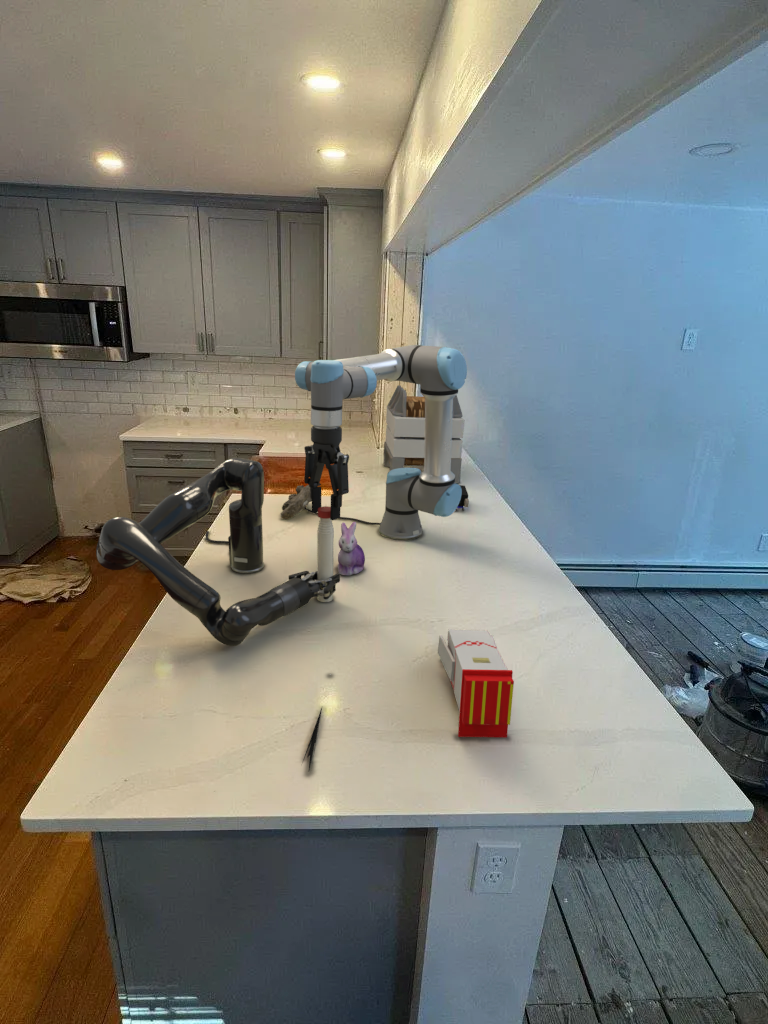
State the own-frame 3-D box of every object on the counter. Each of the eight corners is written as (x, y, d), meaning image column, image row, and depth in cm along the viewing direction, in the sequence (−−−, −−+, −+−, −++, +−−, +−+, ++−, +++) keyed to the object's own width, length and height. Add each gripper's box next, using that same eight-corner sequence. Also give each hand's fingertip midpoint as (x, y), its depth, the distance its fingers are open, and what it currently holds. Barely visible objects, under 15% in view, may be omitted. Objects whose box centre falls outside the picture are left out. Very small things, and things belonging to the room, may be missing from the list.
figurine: (343, 579, 165) (344, 531, 159) (329, 565, 173) (330, 519, 168) (372, 573, 169) (374, 526, 164) (357, 560, 177) (359, 515, 172)
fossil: (285, 490, 226) (313, 470, 221) (301, 508, 229) (329, 489, 224) (270, 515, 206) (301, 493, 201) (287, 534, 209) (318, 513, 204)
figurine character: (468, 516, 224) (463, 500, 237) (471, 498, 221) (465, 483, 234) (452, 515, 224) (447, 499, 237) (453, 498, 220) (449, 482, 234)
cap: (318, 519, 143) (318, 512, 143) (316, 513, 147) (316, 506, 146) (334, 518, 144) (334, 511, 144) (332, 512, 148) (332, 506, 147)
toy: (488, 613, 130) (523, 677, 101) (484, 667, 133) (517, 744, 104) (435, 612, 130) (455, 676, 101) (432, 666, 133) (451, 743, 103)
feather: (331, 679, 122) (336, 673, 122) (307, 777, 96) (313, 769, 95) (324, 675, 122) (329, 669, 121) (298, 772, 95) (304, 764, 95)
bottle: (335, 600, 153) (336, 513, 144) (320, 603, 151) (321, 515, 142) (329, 593, 156) (330, 507, 148) (314, 596, 154) (315, 509, 146)
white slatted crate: (382, 463, 289) (386, 382, 275) (445, 464, 293) (451, 384, 279) (390, 482, 257) (394, 392, 243) (460, 483, 261) (468, 394, 247)
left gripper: (267, 602, 145) (312, 579, 159) (308, 620, 138) (352, 594, 151) (266, 575, 143) (312, 554, 156) (308, 593, 135) (353, 569, 149)
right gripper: (366, 430, 134) (363, 521, 142) (311, 418, 146) (311, 502, 154) (343, 434, 129) (341, 529, 137) (288, 421, 141) (289, 509, 149)
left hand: (331, 574), depth 154 cm, fingers closed on bottle, 4 cm apart
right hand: (325, 515), depth 145 cm, fingers open, 6 cm apart
